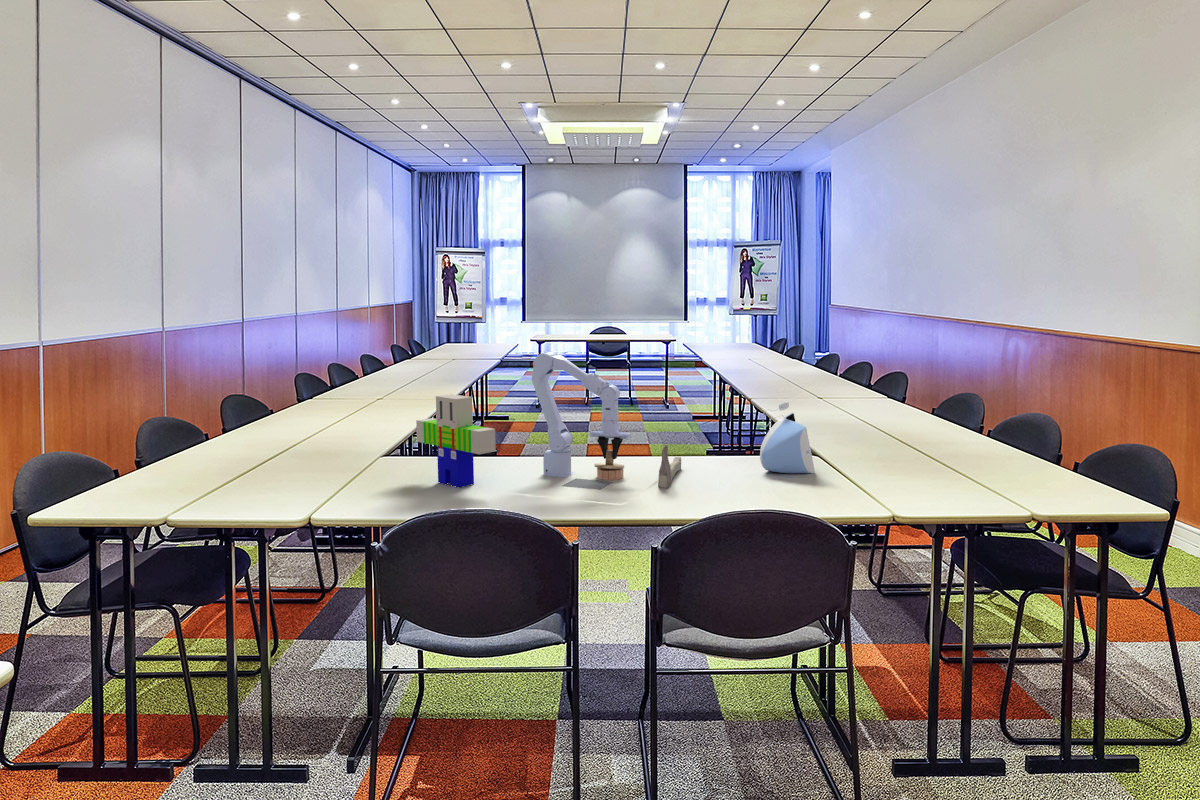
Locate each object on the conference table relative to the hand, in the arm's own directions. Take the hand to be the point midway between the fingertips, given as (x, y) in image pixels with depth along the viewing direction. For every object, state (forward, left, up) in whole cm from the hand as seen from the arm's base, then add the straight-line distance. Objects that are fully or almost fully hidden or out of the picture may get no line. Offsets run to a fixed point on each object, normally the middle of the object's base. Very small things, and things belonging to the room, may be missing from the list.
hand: (610, 458), depth 315 cm
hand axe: (+20, +8, -8) cm, 22 cm away
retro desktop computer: (+56, +37, -7) cm, 68 cm away
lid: (0, -1, -3) cm, 3 cm away
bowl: (0, 0, -7) cm, 7 cm away
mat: (-3, -13, -7) cm, 15 cm away
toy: (-46, -27, -7) cm, 54 cm away
